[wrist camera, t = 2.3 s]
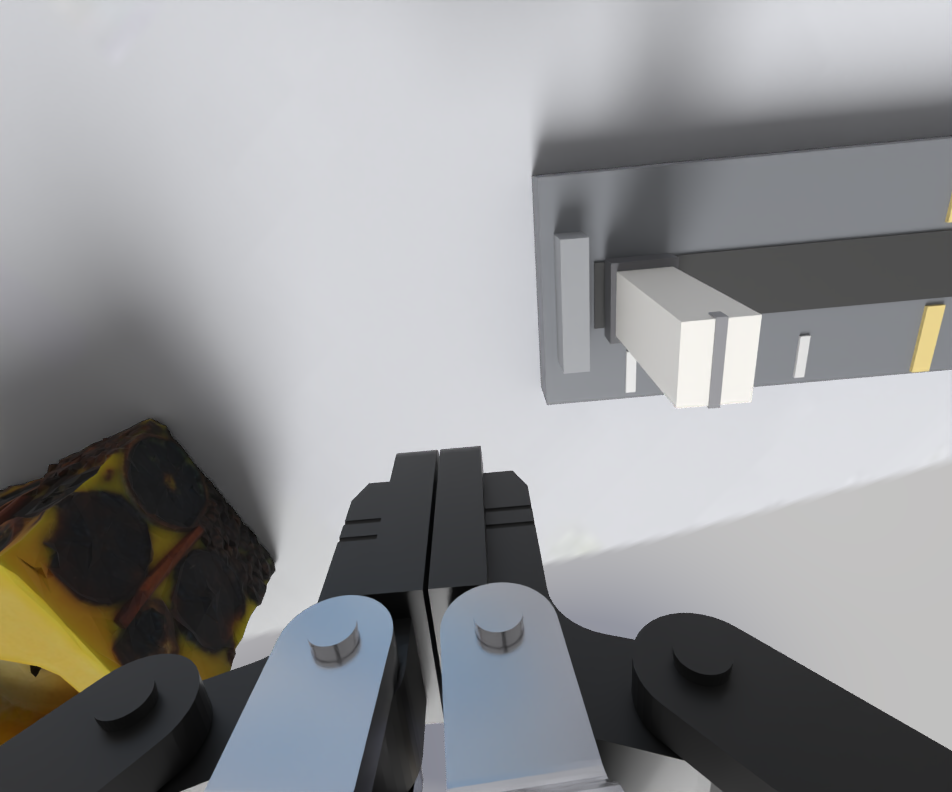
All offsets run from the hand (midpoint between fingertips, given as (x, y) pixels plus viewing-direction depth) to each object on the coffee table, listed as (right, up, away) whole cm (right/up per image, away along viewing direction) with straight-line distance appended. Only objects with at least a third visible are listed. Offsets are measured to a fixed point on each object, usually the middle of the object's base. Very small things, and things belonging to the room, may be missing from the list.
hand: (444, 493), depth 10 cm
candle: (-16, -5, +18) cm, 25 cm away
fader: (+7, +6, +11) cm, 14 cm away
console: (+14, +7, +13) cm, 20 cm away
